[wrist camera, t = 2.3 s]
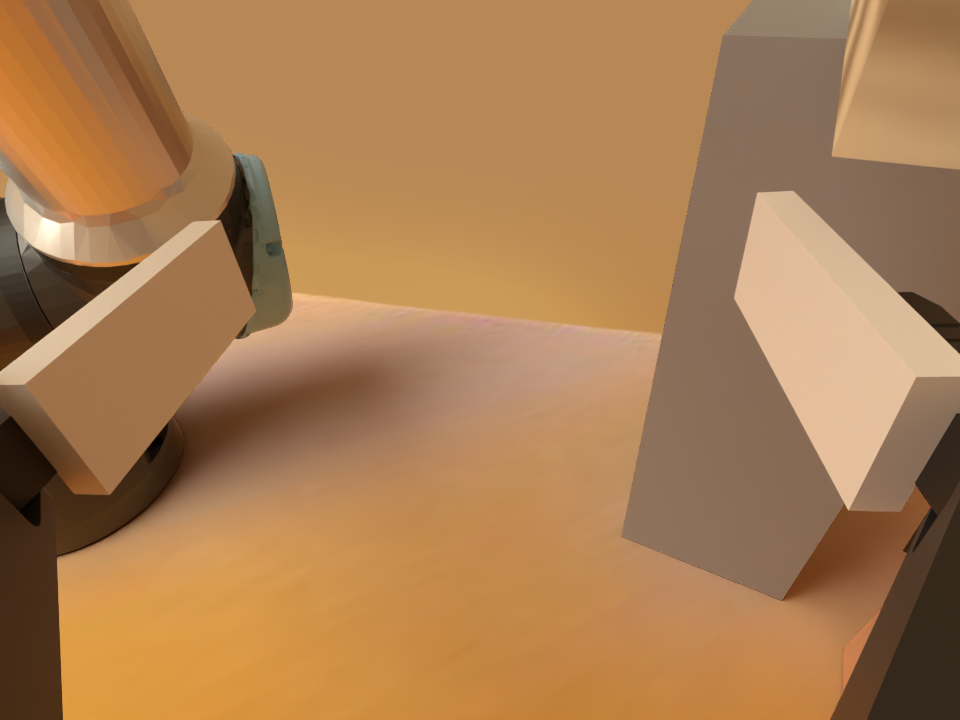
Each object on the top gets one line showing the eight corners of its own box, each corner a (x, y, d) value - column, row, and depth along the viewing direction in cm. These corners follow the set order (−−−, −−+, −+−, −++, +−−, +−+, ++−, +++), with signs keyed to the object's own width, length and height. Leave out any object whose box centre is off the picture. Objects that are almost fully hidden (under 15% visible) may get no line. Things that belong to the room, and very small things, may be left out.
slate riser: (781, 600, 33) (1142, 46, 14) (621, 536, 37) (722, 35, 18) (802, 424, 44) (1023, -33, 24) (675, 389, 47) (777, -29, 28)
